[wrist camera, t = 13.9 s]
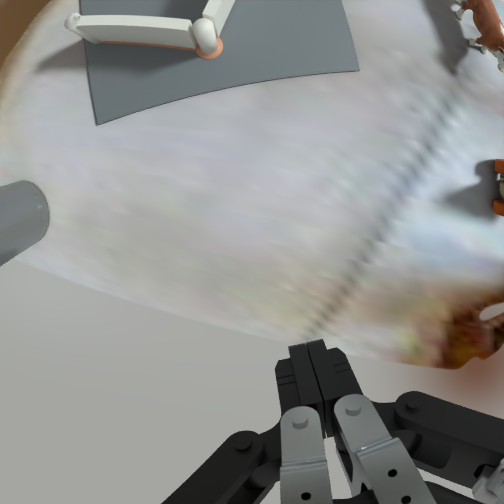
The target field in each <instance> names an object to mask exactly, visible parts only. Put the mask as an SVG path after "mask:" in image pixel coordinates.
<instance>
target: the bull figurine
mask: <svg viewBox="0 0 504 504" xmlns="http://www.w3.org/2000/svg"><path fill="white" fill-rule="evenodd" d="M458 4H462V5H461V8H460V9H459V10H458V11H457V13H458V14H457V18H458V19H459V20H462V18H463V13H464V11H465V10H467V9H471V10H472V11H473V20H474V23H475V25H476V27H477V29H478V30H479V32H480V33H481V35H482V36H481V37H480V38H477V39H472V38H470V41H469V45H470V46H471V47H472V46H473V45H474V44H475V43H477V44H481V45H483V46H481V47H482V48H481V52H482V53H483V54H485V53H486V50H487V49H488V51H489V52H491V53H492V54H493V55H494V56H495V57H497V58H498V62H499V64H498V69H499V70H500V71H501V72H504V27H503V25H502V22H501V20H500V18H499V16H498V14H497V11H496V9H495V6H494V4H493V2H492V1H491V0H458Z"/></svg>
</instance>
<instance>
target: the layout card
mask: <svg viewBox="0 0 504 504" xmlns="http://www.w3.org/2000/svg"><path fill="white" fill-rule="evenodd" d="M208 1H209V0H81V12H82V16H87V15H135V16H154V17H167V18H178V19H187V20H190V21H191V23H192V26H193V23H194V22H195V21H196V20H198V19H201V18H203V15H202V13H203V11H204V9H205V7H206V5H207V3H208ZM216 39H217V44H218V48H217V50H216V52H215V53H213V54H204V53H203V52H202V51H201V49H200V47H199V44H198V43H197V47H196V49H192V48H185V47H177V46H169V45H160V44H149V43H136V42H117V41H102V42H101V43H99V44H93V43H91V42H90V41H88V40H86V39H84V42H85V50H86V58H87V65H88V72H89V78H90V85H91V91H92V96H93V102H94V107H95V113H96V118H97V123H98V125H100V124H103V123H105V122H108V121H111V120H114V119H117V118H120V117H123V116H126V115H129V114H132V113H135V112H138V111H141V110H144V109H148V108H151V107H154V106H158V105H161V104H165V103H168V102H172V101H175V100H179V99H183V98H187V97H191V96H195V95H199V94H203V93H207V92H212V91H216V90H221V89H225V88H230V87H235V86H240V85H246V84H251V83H257V82H263V81H269V80H275V79H282V78H289V77H297V76H305V75H314V74H324V73H336V72H350V71H360V68H359V64H358V60H357V56H356V52H355V48H354V44H353V40H352V36H351V32H350V29H349V25H348V22H347V18H346V15H345V11H344V8H343V5H342V1H341V0H235V2H234V4H233V6H232V9H231V11H230V13H229V15H228V17H227V19H226V21H225V24H224V26H223V28H222V30H221V33H220V35H219V37H216Z"/></svg>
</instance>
